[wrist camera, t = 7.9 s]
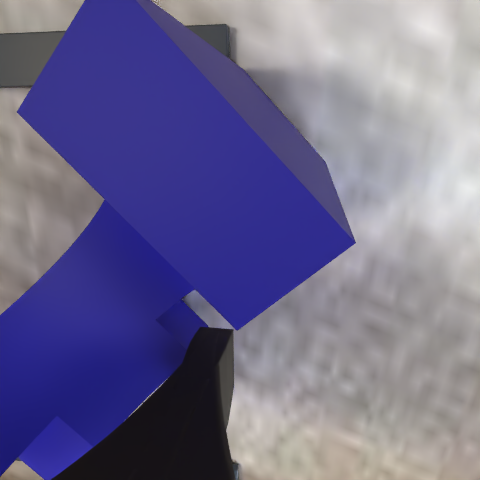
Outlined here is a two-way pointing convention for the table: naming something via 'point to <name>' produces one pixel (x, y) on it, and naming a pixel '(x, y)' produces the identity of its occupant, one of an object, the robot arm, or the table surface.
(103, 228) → the blue cradle bracket
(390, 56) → the table surface
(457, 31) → the table surface
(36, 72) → the frame
